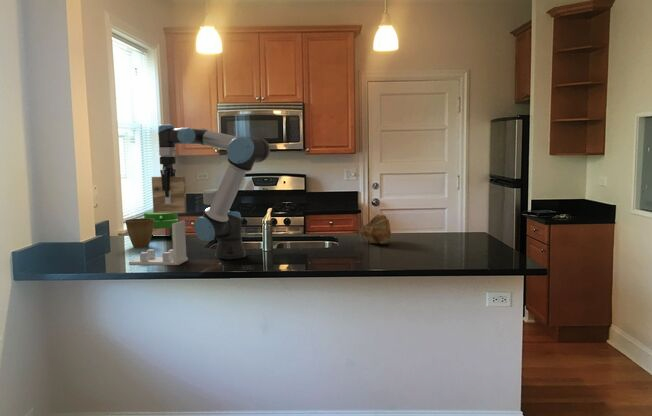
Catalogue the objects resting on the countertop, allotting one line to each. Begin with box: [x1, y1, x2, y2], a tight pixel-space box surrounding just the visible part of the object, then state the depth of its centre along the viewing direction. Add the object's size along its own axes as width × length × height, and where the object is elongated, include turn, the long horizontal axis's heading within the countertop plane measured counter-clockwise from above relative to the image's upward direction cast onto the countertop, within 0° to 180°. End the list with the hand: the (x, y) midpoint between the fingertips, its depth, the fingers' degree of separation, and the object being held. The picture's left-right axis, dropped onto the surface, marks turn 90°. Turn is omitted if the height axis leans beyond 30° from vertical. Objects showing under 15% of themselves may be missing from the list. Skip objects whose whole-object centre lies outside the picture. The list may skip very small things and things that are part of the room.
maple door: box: [151, 175, 188, 214], centre depth 265 cm, size 4×16×18 cm, turn 83°
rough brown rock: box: [359, 214, 392, 245], centre depth 301 cm, size 23×17×15 cm
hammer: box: [202, 188, 218, 206], centre depth 317 cm, size 15×8×30 cm, turn 172°
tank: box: [139, 211, 180, 241], centre depth 324 cm, size 24×35×16 cm
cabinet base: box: [128, 219, 189, 266], centre depth 253 cm, size 12×24×19 cm, turn 83°
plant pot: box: [125, 218, 154, 249], centre depth 293 cm, size 15×15×16 cm
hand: (169, 203), depth 266 cm, fingers closed on maple door, 3 cm apart
